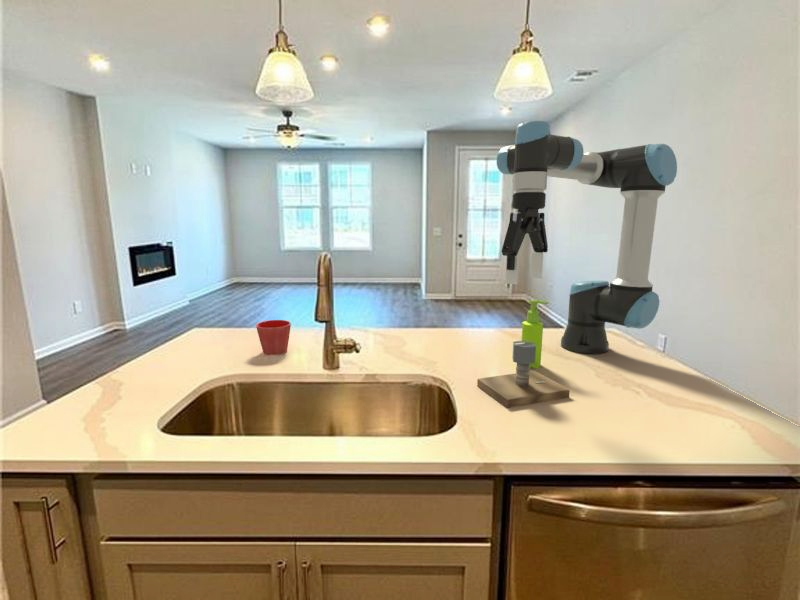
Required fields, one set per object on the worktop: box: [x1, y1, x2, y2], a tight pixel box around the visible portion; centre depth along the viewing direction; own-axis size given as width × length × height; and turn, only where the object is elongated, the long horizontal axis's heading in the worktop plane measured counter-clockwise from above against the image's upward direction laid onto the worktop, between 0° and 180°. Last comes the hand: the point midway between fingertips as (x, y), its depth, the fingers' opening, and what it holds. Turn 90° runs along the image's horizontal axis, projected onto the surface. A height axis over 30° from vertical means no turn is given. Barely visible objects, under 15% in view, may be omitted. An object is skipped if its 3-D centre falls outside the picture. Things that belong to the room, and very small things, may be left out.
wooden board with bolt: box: [476, 363, 571, 408], centre depth 108 cm, size 18×14×8 cm
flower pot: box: [256, 319, 292, 356], centre depth 141 cm, size 11×11×10 cm
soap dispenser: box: [521, 299, 549, 369], centre depth 127 cm, size 6×7×20 cm
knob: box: [512, 340, 536, 364], centre depth 107 cm, size 6×5×5 cm
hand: (524, 280), depth 104 cm, fingers open, 13 cm apart
